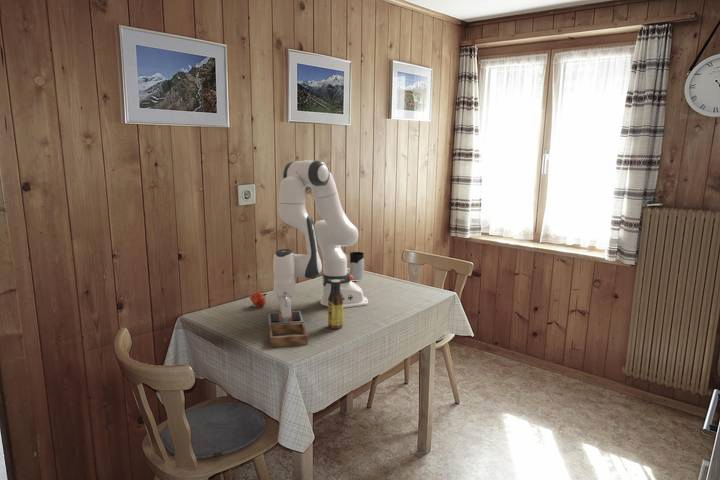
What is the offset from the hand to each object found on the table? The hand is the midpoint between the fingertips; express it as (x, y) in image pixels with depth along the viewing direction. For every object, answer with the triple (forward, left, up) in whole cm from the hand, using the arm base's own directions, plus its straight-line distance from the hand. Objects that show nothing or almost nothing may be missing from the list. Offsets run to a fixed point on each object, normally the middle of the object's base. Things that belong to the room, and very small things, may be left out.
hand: (285, 321), depth 208 cm
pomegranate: (+11, -26, -2) cm, 28 cm away
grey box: (0, 0, -2) cm, 2 cm away
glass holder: (-41, -66, -2) cm, 78 cm away
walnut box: (0, +15, -2) cm, 15 cm away
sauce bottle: (-20, +6, -2) cm, 21 cm away
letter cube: (0, 0, -2) cm, 2 cm away
